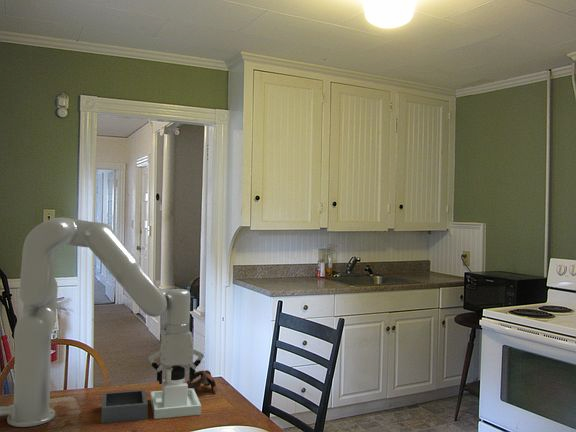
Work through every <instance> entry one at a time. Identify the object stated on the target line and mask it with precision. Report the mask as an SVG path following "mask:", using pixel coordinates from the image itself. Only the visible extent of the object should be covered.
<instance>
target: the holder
mask: <svg viewBox="0 0 576 432" xmlns="http://www.w3.org/2000/svg"><path fill="white" fill-rule="evenodd" d="M146 391H147V390H146V389H135V390H122V391H121V390H119V391H111V392H108V391H107V392H102V394H101V395H102V396H101V398H102V399H101V413H100V414H101V416H100V418H101V419H100V420H101V421H100V422H101V424H109V423H120V422H121V423H122V422H130V421H131V422H132V421H140V420H148V412H149V411H148V408H149V406H148V405H149V404H148V398H147V393H146Z"/></svg>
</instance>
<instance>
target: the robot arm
mask: <svg viewBox="0 0 576 432" xmlns="http://www.w3.org/2000/svg"><path fill="white" fill-rule="evenodd" d="M62 246H71V247H72V246H73V247H79V248H81V247H82V248H89V250H90V251H91V252H92V253H93V254H94V256H95V257H96V258H97V259H98V260H99V262H101V264H102V265H104V266H105V268H106V269H107V270H108V271H109V273H110V274H111V275H112V277H113V278H114V279H115V281H117V283H118V284H120V286H121V287H122V288H123V290H125V292H126V293H127V294H128V295H129V297H130V298H131V300H133V301H134V303H135V304H136V305H137V306H138V307H139V309H140V310H141V311H142V312H143V313H144V314H145V315H147V316H149V317H152V318H156V317H160V316H161V315H163V314H164V313H165V323H164V324H161V325H160V330H163V331H164V332H163V333H162V336H161V341H160V350H159V351H157V352H155V353H153V354H151V355H149V356H148V360H149V363H150V364H151V366H152V368H154V370H156V381H157V382H158V384H159V385H162V380H163V369H164V367H170V366H188V365H189V366H190V367H189V370H188V371H189V373H188V376H189V377H188V380H189V381H190V382H191V383H193V382H194V380H193V378H195V373H196V369H197V367H198V366H199V365H200V364H201V362H202V361H203V358H204V356H205V355H204V353H203V352H201V351H199V350H196V349H194V338H193V333H192V332H191V331H190V323H191V322H190V320H191V292H190V291H189V289H184V288H173V289H166V288H164V289H163V288H160V287H159V288H157V286H156V285H155V284H154V283H153V281H152V280H151V279H150V278H149V276H148V275H147V274H146V273H145V271H144V269H143V268H142V265H141V264H140V262H139V260H138V259H137V258H136V256H135V254H133V253H132V252H131V251H130V249H129V248H127V246H126V245H125V244H124V243H123V241H122V240H121V239H120V238H119V237H118V235H117V234H116V233H115V232H114V229H113V228H112V227H111V226H110V225H109V224H107V223H104V222H99V221H88V220H82V219H77V218H70V217H63V216H62V217H61V216H60V217H54V218H50V219H47V220H45V221H43V222H41V223H39V224H38V225H36V226H35V227H34V228H33V229H31V231H29V233H28V234H27V235H26V238H25V240H24V242H23V247H22V255H21V267H20V281H19V282H20V283H19V290H18V295H19V299H20V300H21V302H22V303H23V308H22V316H21V317H20V318H19V319H18V320H17V322H16V323H15V327H14V332H13V341H14V382H13V383H14V385H13V386H14V387H13V388H14V389H13V402H12V404H9V405H8V406H0V417H1V416H7V418H6V419H7V420H6V421H7V424H8V425H10V426H13V427H18V428H26V427H27V428H28V427H35V426H39V425H43V424H46V423H48V422H50V421H52V420H53V419H54V418H55V416H56V411H55V410H54V408H51V407H50V399H51V372H52V371H51V370H52V369H51V366H52V365H51V362H52V332H53V329H54V327H55V325H56V323H57V322H56V320H57V309H58V308H57V307H58V290H59V289H58V282H57V280H56V277H54V266H55V265H54V264H55V260H54V258H55V257H54V256H55V251H56V250H57V248H59V247H62ZM194 355H195V356H197V359H196V360H195V361H194ZM158 358H159V360H160V362H158V363H157V362H156V361H155V360H156V359H158ZM195 379H196V378H195Z"/></svg>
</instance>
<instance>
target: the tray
mask: <svg viewBox="0 0 576 432" xmlns="http://www.w3.org/2000/svg"><path fill="white" fill-rule="evenodd" d="M195 390H196V389H195ZM195 390H194V388H189V389H188V390H187V406H177V407H166V408H164V407H163V404H162V390H153V391H150V403H151V404H150V405H151V409H152V414H153V419H154V420H157V419H169V418H179V417H181V418H182V417H189V416H200V415H202V404H201V402H200V399H199V397H198V395H197V393H196V391H195Z"/></svg>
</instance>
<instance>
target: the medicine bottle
mask: <svg viewBox="0 0 576 432" xmlns="http://www.w3.org/2000/svg"><path fill="white" fill-rule="evenodd" d="M164 373H165V376H164V378H165V379H162V384H161V391H162V404H163V407H164V408H166V407H177V406H187V390H188V384H187V381H186V380H185V377H186V376H185V375H186V374H185V373H186V369H185V367H183V365H179V366H167V367H166V369H165V372H164Z"/></svg>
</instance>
